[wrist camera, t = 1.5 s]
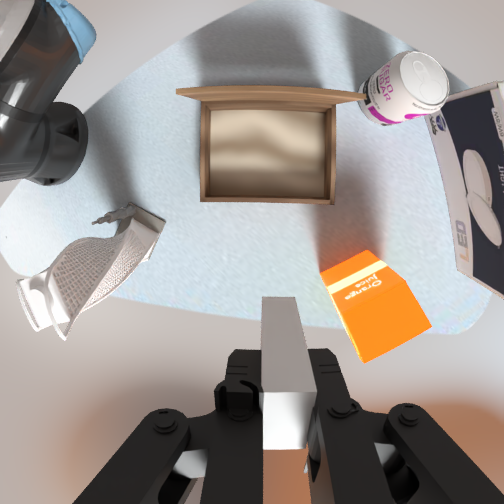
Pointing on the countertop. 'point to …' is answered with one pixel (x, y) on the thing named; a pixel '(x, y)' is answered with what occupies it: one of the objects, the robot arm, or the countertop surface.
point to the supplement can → (404, 89)
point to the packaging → (474, 178)
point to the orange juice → (374, 305)
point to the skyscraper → (90, 269)
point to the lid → (270, 94)
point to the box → (267, 151)
